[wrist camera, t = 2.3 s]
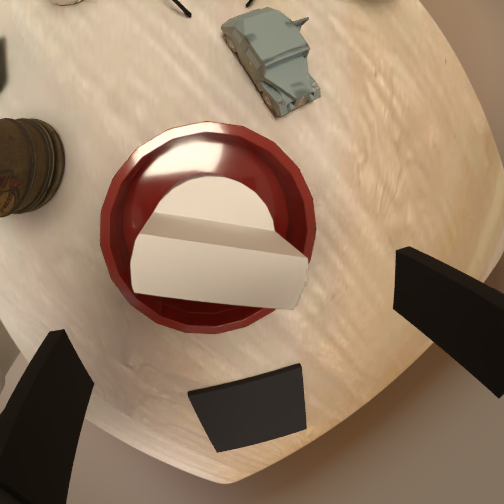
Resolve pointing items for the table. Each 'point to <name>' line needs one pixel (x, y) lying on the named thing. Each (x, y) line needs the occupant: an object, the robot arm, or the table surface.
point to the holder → (252, 408)
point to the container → (28, 164)
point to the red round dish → (178, 168)
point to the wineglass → (65, 2)
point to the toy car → (273, 57)
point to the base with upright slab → (216, 248)
